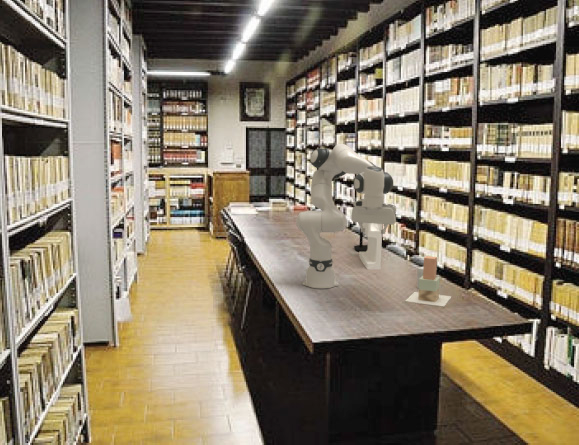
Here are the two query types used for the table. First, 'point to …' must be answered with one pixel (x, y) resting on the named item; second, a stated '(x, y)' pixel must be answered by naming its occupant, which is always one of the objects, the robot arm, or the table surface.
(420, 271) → the small box
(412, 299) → the felt pad
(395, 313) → the table surface
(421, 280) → the sage slab
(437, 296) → the wooden block
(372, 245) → the white stand
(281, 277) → the table surface
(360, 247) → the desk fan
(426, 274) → the terracotta block
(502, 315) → the table surface
